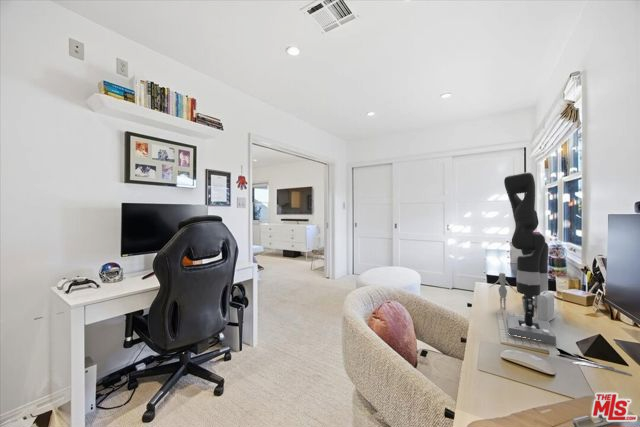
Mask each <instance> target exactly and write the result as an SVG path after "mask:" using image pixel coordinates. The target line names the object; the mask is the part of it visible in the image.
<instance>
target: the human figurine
mask: <svg viewBox="0 0 640 427" xmlns="http://www.w3.org/2000/svg"><path fill="white" fill-rule="evenodd" d="M506 277H507V276H506V273H504V272H499V273H498V280H497V281H496V282H494V283H493V284H492V285H490V286H489V288H488V289H490V288H491V287H493V286H495V285H496V284H497V283H499V284H500V286H499V287H498V293H499V294H498V295H499V297H500V298H499V301H500V302H499V303H500V309H503V310H506V309H507V307H506V304H507V303H506V302H507V301H506V300H507V298H506V297H507V293H508V290H507V287H506V285H508V286H509V287H510V289H512V291H514V292H515V293H518V292H517V289H515V288H513V286H512V285H510V283H509V282H508V281H507V280H506V279H507V278H506ZM502 305H503V306H502Z"/></svg>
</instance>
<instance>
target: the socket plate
mask: <svg viewBox="0 0 640 427" xmlns="http://www.w3.org/2000/svg"><path fill="white" fill-rule="evenodd" d="M532 319H533V326H535V327H536V329H535V328H530V327H524V326H521V324H525V316H517V315H511V314H506V324H507V325H508V327H507V333H509V334H510V335H517V336H521V337H526V338H530V339H536V340H541V341H543V342H542V343H544V342H545V343H544V344H549V345H555V346H556V345H557V337H556V334H555V332H554V331H553V328H552V326H551V324H550V321H542V320H539V319H536V318H535V319H534V318H532ZM507 325H506V326H507ZM509 334H508V335H509ZM510 335H509V336H510Z"/></svg>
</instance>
